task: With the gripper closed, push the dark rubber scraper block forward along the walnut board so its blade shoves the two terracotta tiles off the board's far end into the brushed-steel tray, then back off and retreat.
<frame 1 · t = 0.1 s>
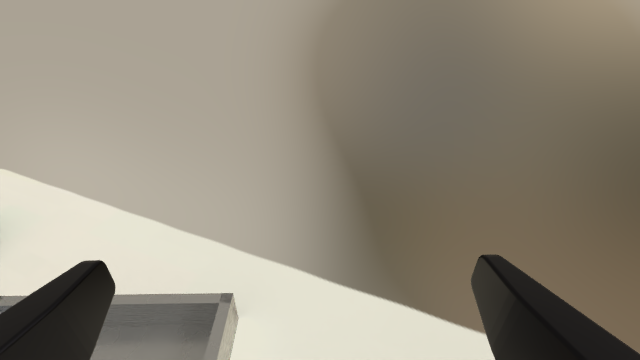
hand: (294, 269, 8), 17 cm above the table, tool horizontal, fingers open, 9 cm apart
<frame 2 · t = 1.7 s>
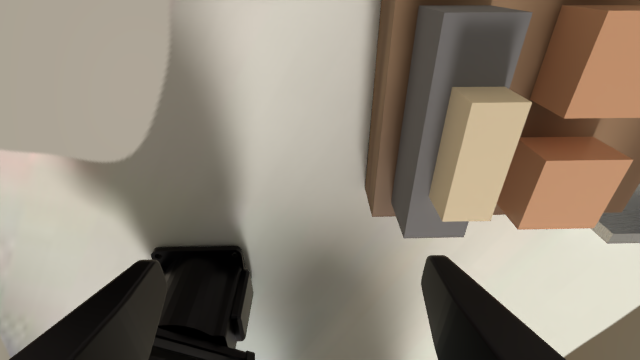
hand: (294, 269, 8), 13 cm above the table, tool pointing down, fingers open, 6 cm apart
tile b: (588, 55, 15), point 3 cm above the table, touching board
scraper: (433, 119, 16), point 3 cm above the table, touching board
tile a: (540, 170, 18), point 3 cm above the table, touching board
board: (502, 99, 19), on the table
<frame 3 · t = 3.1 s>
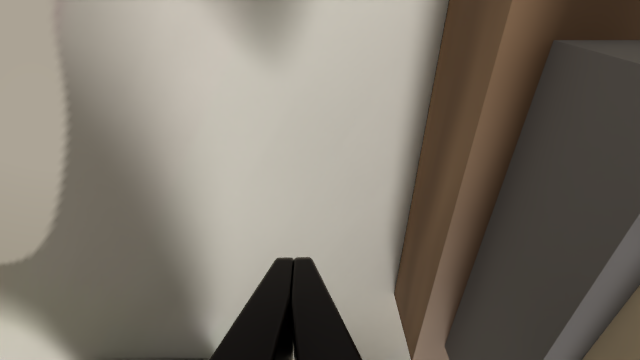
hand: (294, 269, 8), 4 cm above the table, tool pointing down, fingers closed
scraper: (537, 238, 9), point 3 cm above the table, touching board
board: (627, 178, 12), on the table
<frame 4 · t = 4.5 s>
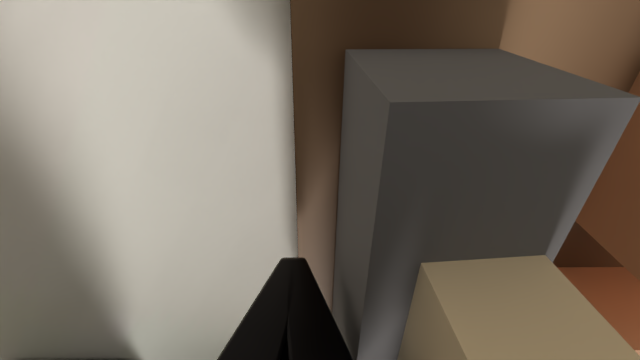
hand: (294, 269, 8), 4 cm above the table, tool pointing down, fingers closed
scraper: (390, 245, 9), point 3 cm above the table, touching board, gripper
tile a: (576, 310, 11), point 3 cm above the table, touching board
board: (513, 183, 12), on the table
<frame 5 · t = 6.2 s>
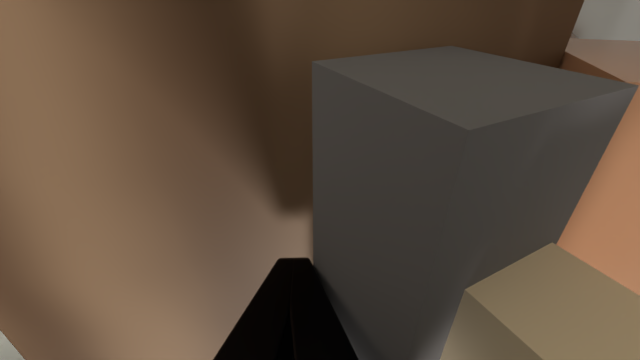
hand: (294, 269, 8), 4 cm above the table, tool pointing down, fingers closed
tray: (574, 182, 12), on the table
tile b: (532, 147, 7), point 3 cm above the table, tilted 76°
scraper: (366, 260, 8), point 4 cm above the table, tilted 27°, touching board, gripper
board: (238, 184, 11), on the table
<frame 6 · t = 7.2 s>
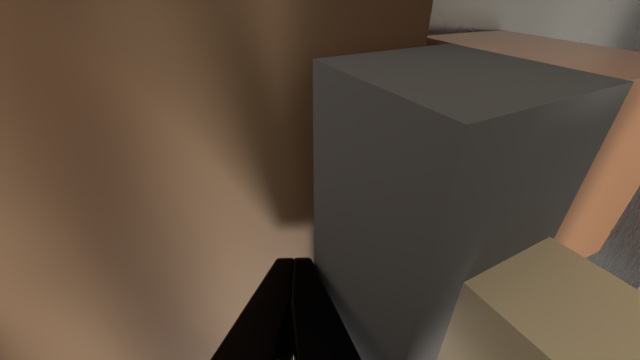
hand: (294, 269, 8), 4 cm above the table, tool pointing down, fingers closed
tray: (500, 182, 11), on the table
tile b: (466, 153, 7), point 3 cm above the table, tilted 113°, touching tray
scraper: (366, 256, 8), point 3 cm above the table, tilted 27°, touching board, tile a
board: (154, 186, 11), on the table
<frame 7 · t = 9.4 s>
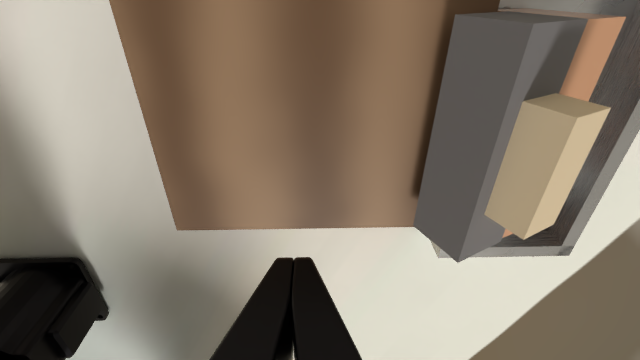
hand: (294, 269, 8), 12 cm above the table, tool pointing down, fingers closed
tray: (522, 107, 18), on the table
tile b: (513, 67, 14), point 3 cm above the table, tilted 113°, touching scraper, tray
scraper: (454, 132, 15), point 3 cm above the table, tilted 27°, touching board, tile a, tile b
board: (309, 108, 18), on the table
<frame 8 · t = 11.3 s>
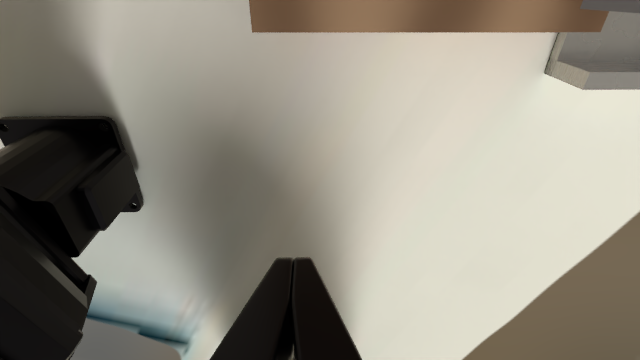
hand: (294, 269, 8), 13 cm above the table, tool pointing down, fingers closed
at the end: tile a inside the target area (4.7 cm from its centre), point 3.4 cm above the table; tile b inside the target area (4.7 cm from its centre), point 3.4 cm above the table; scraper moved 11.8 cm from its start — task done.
